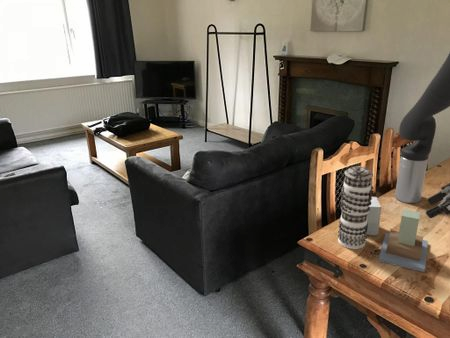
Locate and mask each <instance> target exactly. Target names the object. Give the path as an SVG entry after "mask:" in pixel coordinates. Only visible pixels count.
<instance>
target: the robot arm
mask: <svg viewBox="0 0 450 338" xmlns="http://www.w3.org/2000/svg"><path fill="white" fill-rule="evenodd" d="M449 107H450V52H449V53H448V55H447V57H446V59H445V61H444V62H443V63H442V65H441V66H440V68H439V70H438V71H437V72H436V74H435V76H434V77H433V78H432V79H431V81H430V82H429V84H428V85H427V87H426V89H424V91H423V94H422V95H421V96H420V98H419V99H418V100H417V102H416V103H415V104H414V105H413V107H412V108H410V110H409V111H408V112H407V113H406V114H405V115H404V117H403V118H402V119H401V121H400V124H399V128H398V129H399V130H398V133H399V136H400V137H401V139H403V140H407V141H414V142H413V143H411V144H409V145H407V146H404V147H403V148H402V149H401V152H400V160H399V166H398V173H397V181H396V186H395V191H394V197H395V199H396V200H398V201H400V202H403V203H405V204H406V203H408V204H417V203H420V202H421V200H422V196H423V195H422V194H423V189H424V183H425V177H426V172H427V165H428V161H429V156H430V154H431V151H432V149H433V148H432V147H433V142H434V140H435V139H434V138H435V135H436V130H437V129H436V128H437V122H436V118H435V117H434V116H435V115H437V114H439V113H441V112H443V111H444V110H445V111H446V109H448V108H449ZM426 200H427V202H428V203H429V205H431V206H433V205H434V206H433V207H431V208H429V209H427V210H426V211H425V215H426V216H427V217H428V218H430V219H434V218H435V217H438V216H439V215H441V214H443V213H444V214H445V215H446V216H448V215H450V182H449V183H447V184H445V185H443V186H441V187H440V190H439V191H438V192H436V193H434V194H433V195H431V196H430V197H427V199H426ZM438 203H439V204H438ZM436 204H437V205H436Z"/></svg>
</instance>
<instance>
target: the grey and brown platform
mask: <svg viewBox="0 0 450 338" xmlns="http://www.w3.org/2000/svg"><path fill="white" fill-rule="evenodd" d="M398 236H399V231H397V230H393V229H392V230H390V231H389V232H388V231H386V232H385V236H384V238H383V242H382V246H381V248H380V249H381V250H380V252H379V257H378V261H379V262H381V263H386V264H388V265H389V264H390V265H393V266H397V267H402V268H406V269H409V270H414V271H419V272H422V273H425V271H426V266H427V265H426V263H427V253H428V240H426V239H424V236H421V235H417V234H416V239H415V245H414V246H411V245H406V244H401V243H397V242H398Z"/></svg>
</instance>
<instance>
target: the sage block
mask: <svg viewBox="0 0 450 338" xmlns="http://www.w3.org/2000/svg"><path fill="white" fill-rule="evenodd" d="M420 213H421V212H420V211H415V210H409V209H404V208H403V209H402V212H401V217H400V224H399V231H398V232H399V236H398V242H397V243H401V244H406V245H411V246H414V245H415V239H416V235H417V233H418V227H419V223H420V222H419V221H420V216H421V215H420Z"/></svg>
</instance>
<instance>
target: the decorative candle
mask: <svg viewBox="0 0 450 338" xmlns="http://www.w3.org/2000/svg"><path fill="white" fill-rule="evenodd" d="M343 174H344V175H345V176H344V180H343V185H342V187H341V188H340V189H341V191H340V197H341V198H340V209H341V215H340V219H339V222H338V224H339V225H338V231H337V233H338V234H337V238H338V239H337V241H338V243H339V244H340V245H341V246H342V247H345V248H347V249H351V250H352V249H353V250H358V249H363V248H364V247H365V246H366V244H367V243H366V242H367V236H368V235H367V233H366V232H367V228H368V224H367V214H368V213H369V211H370V207H368V206H369V205H371V201H370V200H372V197H373V196H371V195H373V194H374V186H372V180H373V179H372V178H373V176H374V174H373V172H371V171H370V169H369V168H367V167H365V166H360V165H358V166H357V165H356V166H355V165H354V166H353V165H352V166H350V167H348V169H346V170H345V171H344V173H343Z"/></svg>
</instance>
